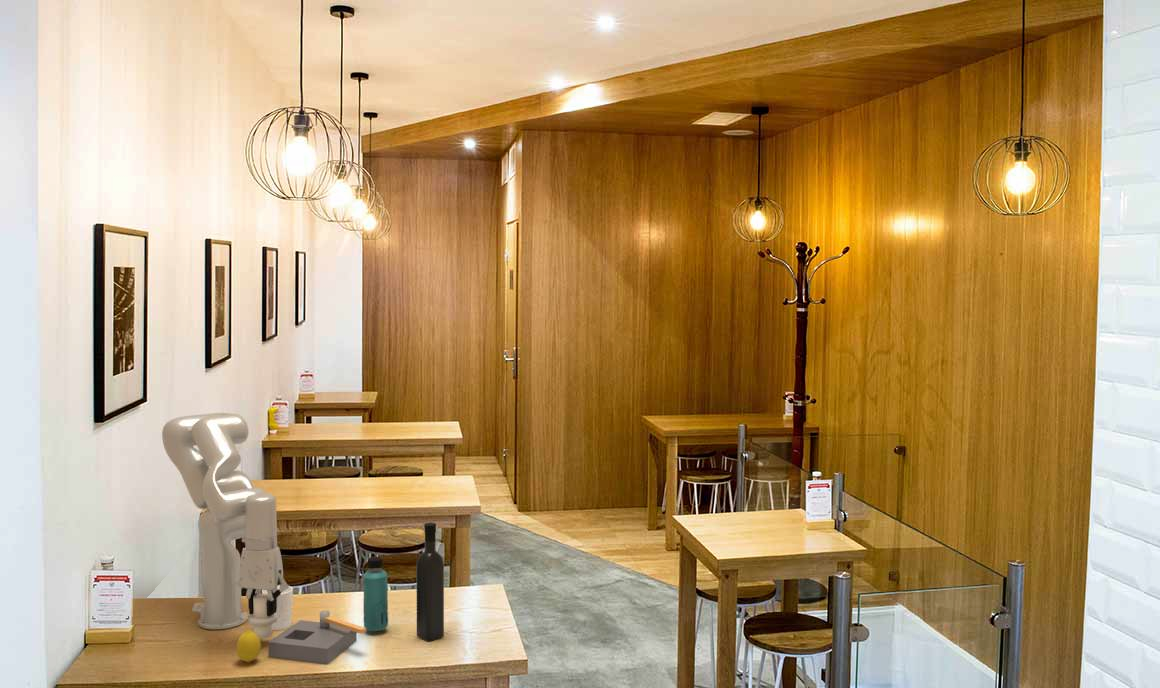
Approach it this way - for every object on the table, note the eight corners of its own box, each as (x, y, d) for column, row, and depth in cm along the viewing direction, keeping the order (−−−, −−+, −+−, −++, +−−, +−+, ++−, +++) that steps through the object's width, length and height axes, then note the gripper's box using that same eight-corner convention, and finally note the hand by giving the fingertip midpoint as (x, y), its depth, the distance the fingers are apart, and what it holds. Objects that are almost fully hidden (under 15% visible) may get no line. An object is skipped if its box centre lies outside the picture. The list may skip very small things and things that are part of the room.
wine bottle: (414, 636, 246) (414, 523, 244) (432, 630, 250) (432, 519, 248) (428, 642, 242) (428, 528, 240) (445, 636, 246) (445, 524, 244)
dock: (268, 657, 232) (268, 642, 231) (300, 634, 246) (300, 620, 246) (327, 664, 228) (327, 648, 228) (356, 641, 242) (356, 626, 242)
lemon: (240, 658, 231) (239, 626, 230) (263, 658, 231) (263, 626, 231) (234, 668, 225) (233, 635, 225) (257, 667, 226) (257, 635, 225)
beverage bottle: (382, 637, 245) (382, 562, 243) (358, 635, 246) (358, 560, 245) (392, 628, 251) (392, 555, 250) (369, 626, 253) (368, 553, 251)
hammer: (367, 638, 234) (367, 623, 234) (359, 641, 232) (359, 626, 232) (325, 624, 243) (325, 610, 243) (317, 627, 241) (317, 612, 241)
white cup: (299, 623, 254) (299, 587, 253) (278, 633, 247) (278, 596, 246) (277, 618, 257) (276, 583, 256) (256, 628, 250) (255, 591, 249)
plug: (243, 639, 237) (242, 599, 236) (258, 629, 243) (258, 590, 243) (267, 641, 235) (266, 602, 235) (282, 631, 242) (281, 593, 241)
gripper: (222, 544, 236) (224, 615, 237) (283, 549, 232) (284, 621, 233) (240, 536, 243) (241, 605, 245) (299, 541, 239) (300, 611, 241)
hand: (262, 612), depth 239 cm, fingers closed on plug, 4 cm apart
